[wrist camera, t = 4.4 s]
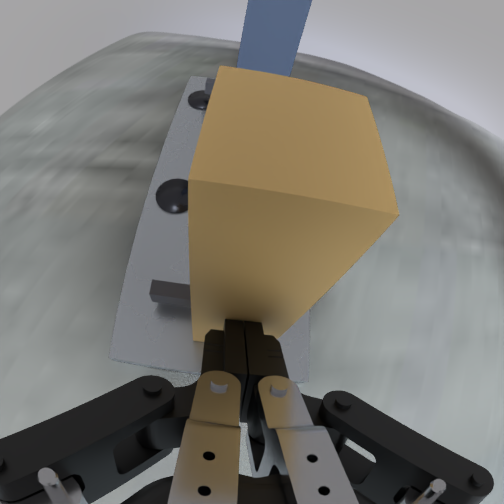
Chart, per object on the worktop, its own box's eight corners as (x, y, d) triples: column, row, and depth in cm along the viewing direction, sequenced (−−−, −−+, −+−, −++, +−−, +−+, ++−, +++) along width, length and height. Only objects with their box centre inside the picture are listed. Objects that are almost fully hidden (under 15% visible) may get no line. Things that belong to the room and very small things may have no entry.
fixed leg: (208, 88, 27) (224, -41, 16) (276, 98, 28) (311, -27, 17) (200, 113, 25) (215, -32, 14) (275, 124, 26) (316, -16, 15)
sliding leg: (161, 267, 18) (131, 59, 7) (270, 281, 19) (366, 96, 8) (149, 334, 17) (65, 167, 5) (266, 349, 17) (399, 215, 6)
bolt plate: (190, 83, 29) (190, 74, 28) (298, 100, 30) (301, 91, 29) (113, 360, 17) (108, 356, 16) (302, 382, 18) (309, 381, 17)
